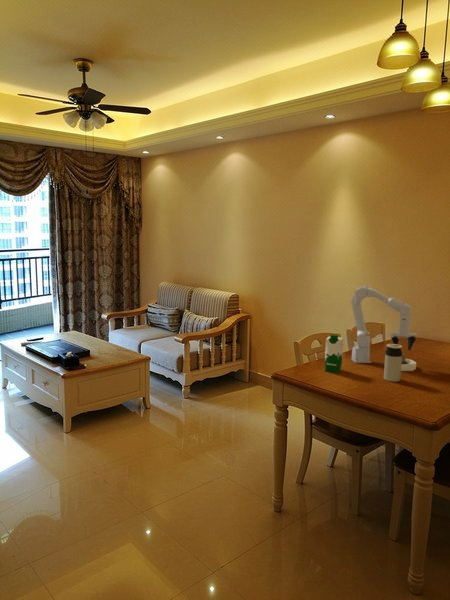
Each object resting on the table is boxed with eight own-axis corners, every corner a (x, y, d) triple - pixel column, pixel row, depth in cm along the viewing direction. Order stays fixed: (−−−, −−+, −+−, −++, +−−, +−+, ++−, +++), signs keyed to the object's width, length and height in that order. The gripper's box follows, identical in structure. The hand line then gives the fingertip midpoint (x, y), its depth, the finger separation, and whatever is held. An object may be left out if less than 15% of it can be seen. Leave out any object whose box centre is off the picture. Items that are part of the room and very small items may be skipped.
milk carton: (323, 371, 251) (324, 335, 248) (326, 367, 259) (328, 332, 256) (339, 373, 247) (341, 337, 244) (342, 369, 255) (344, 333, 252)
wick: (404, 367, 260) (405, 354, 259) (401, 367, 260) (402, 354, 259) (401, 365, 264) (402, 353, 263) (398, 365, 264) (399, 353, 262)
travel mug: (403, 381, 236) (405, 347, 233) (388, 382, 235) (391, 347, 232) (394, 377, 244) (397, 343, 241) (380, 377, 242) (383, 343, 240)
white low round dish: (419, 370, 255) (419, 364, 255) (394, 370, 254) (395, 364, 254) (407, 363, 269) (408, 357, 269) (384, 363, 268) (384, 357, 268)
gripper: (394, 327, 255) (392, 351, 257) (420, 327, 255) (418, 351, 257) (389, 324, 262) (387, 348, 264) (414, 325, 262) (412, 348, 264)
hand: (402, 349), depth 261 cm, fingers open, 7 cm apart
